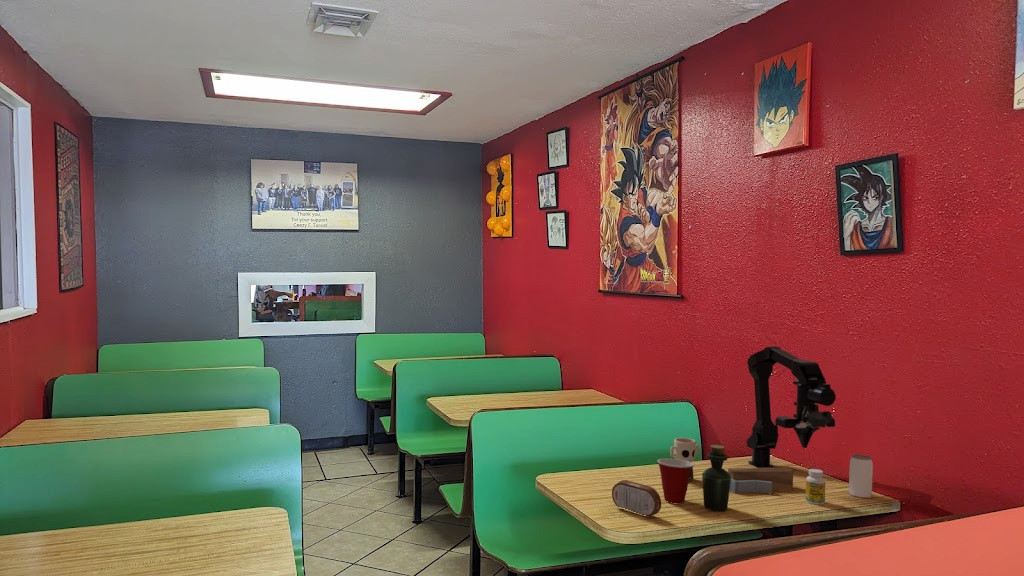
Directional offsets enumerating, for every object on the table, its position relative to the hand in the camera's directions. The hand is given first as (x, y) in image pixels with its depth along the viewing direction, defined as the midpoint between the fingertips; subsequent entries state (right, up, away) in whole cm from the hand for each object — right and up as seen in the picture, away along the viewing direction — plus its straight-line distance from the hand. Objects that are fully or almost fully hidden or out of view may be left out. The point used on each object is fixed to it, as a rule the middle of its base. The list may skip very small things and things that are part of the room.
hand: (804, 447), depth 231 cm
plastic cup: (-47, -12, -20) cm, 52 cm away
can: (+13, -13, -10) cm, 21 cm away
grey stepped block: (-22, -12, -5) cm, 25 cm away
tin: (-61, -12, -31) cm, 69 cm away
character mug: (-39, -11, +3) cm, 41 cm away
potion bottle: (-36, -12, -25) cm, 46 cm away
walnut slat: (-16, -12, -4) cm, 21 cm away
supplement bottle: (-4, -13, -18) cm, 22 cm away
